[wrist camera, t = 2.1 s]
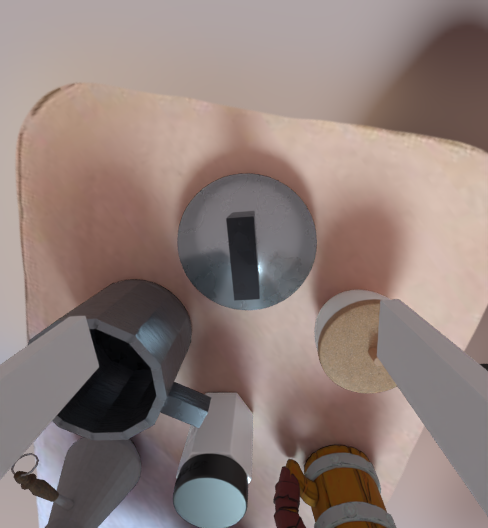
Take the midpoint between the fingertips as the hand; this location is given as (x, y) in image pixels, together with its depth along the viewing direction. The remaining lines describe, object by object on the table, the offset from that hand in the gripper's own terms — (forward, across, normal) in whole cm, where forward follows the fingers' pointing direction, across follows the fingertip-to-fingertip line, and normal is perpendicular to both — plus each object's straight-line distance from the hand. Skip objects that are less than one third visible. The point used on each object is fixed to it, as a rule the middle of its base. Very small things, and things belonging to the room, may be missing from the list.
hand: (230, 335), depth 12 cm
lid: (+22, 0, 0) cm, 22 cm away
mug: (+22, -9, +37) cm, 44 cm away
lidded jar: (+22, -12, +11) cm, 27 cm away
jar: (+22, +6, +26) cm, 34 cm away
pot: (+21, +14, +12) cm, 28 cm away
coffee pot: (+22, +24, +28) cm, 42 cm away
